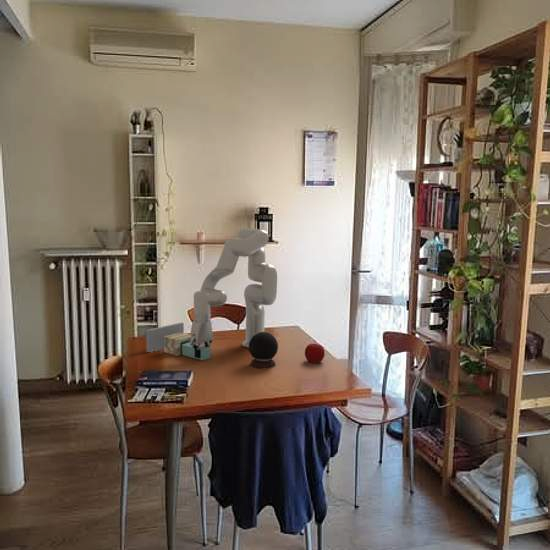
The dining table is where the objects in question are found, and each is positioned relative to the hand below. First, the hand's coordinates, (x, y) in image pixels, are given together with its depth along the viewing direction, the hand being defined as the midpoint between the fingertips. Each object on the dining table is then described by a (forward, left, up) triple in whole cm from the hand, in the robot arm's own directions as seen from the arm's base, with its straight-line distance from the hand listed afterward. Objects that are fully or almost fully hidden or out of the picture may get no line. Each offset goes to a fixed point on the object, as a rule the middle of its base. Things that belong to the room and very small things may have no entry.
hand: (202, 355), depth 248 cm
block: (+16, 0, -1) cm, 16 cm away
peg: (+4, 0, -1) cm, 4 cm away
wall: (+26, 0, -1) cm, 26 cm away
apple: (-42, -31, -2) cm, 52 cm away
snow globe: (-27, -12, -2) cm, 30 cm away
